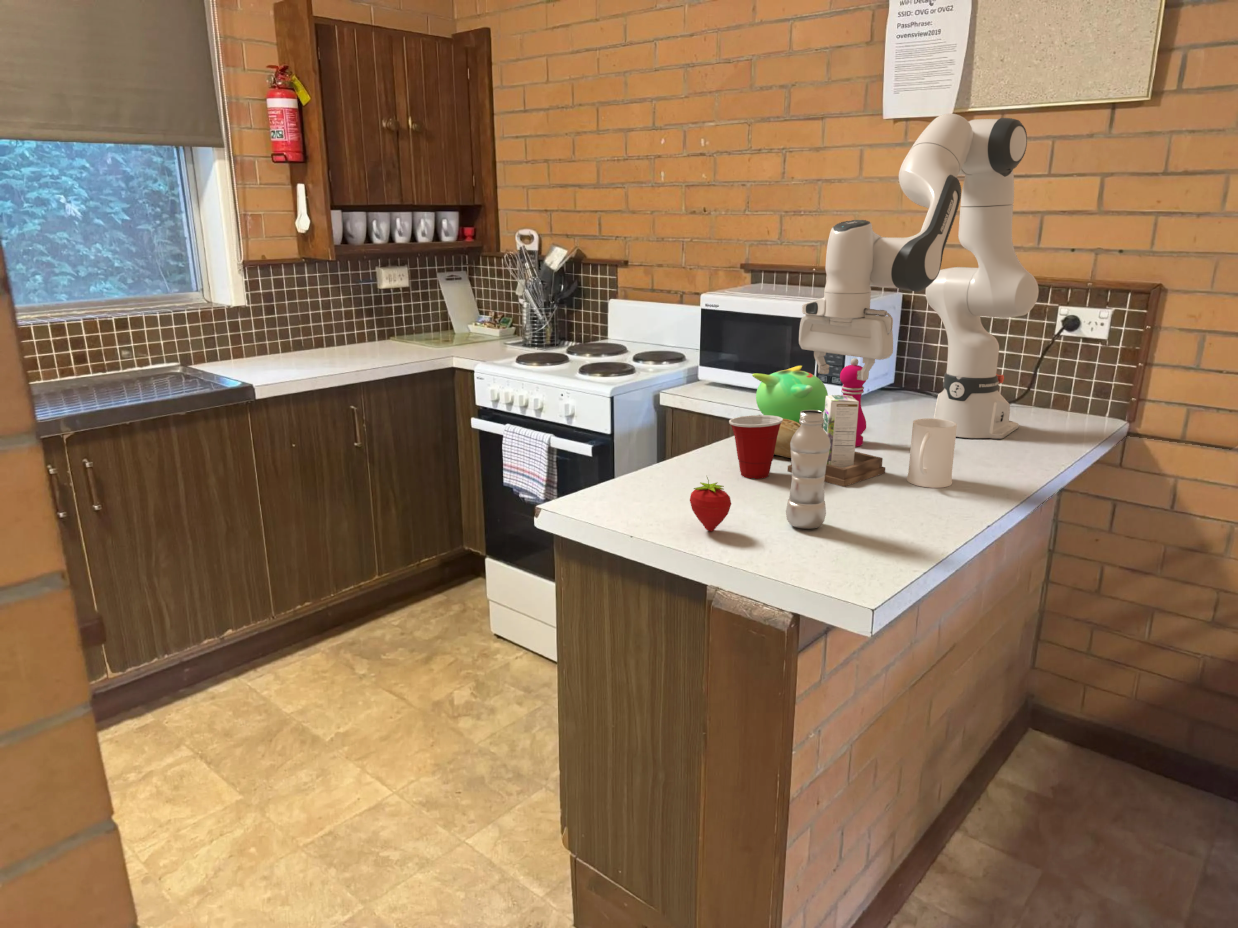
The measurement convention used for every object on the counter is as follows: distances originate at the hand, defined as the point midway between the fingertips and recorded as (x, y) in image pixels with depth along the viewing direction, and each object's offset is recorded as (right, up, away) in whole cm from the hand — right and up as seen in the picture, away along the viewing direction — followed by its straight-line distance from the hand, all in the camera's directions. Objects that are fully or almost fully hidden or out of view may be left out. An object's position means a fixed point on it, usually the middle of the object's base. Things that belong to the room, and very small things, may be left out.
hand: (842, 376), depth 167 cm
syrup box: (0, -18, +5) cm, 19 cm away
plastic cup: (-17, -20, +5) cm, 27 cm away
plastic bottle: (-13, -28, -24) cm, 40 cm away
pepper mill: (+9, -13, +27) cm, 31 cm away
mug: (+16, -22, -2) cm, 27 cm away
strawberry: (-30, -29, -26) cm, 49 cm away
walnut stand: (0, -19, +6) cm, 20 cm away
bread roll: (-9, -16, +19) cm, 27 cm away
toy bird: (-1, -8, +46) cm, 47 cm away
